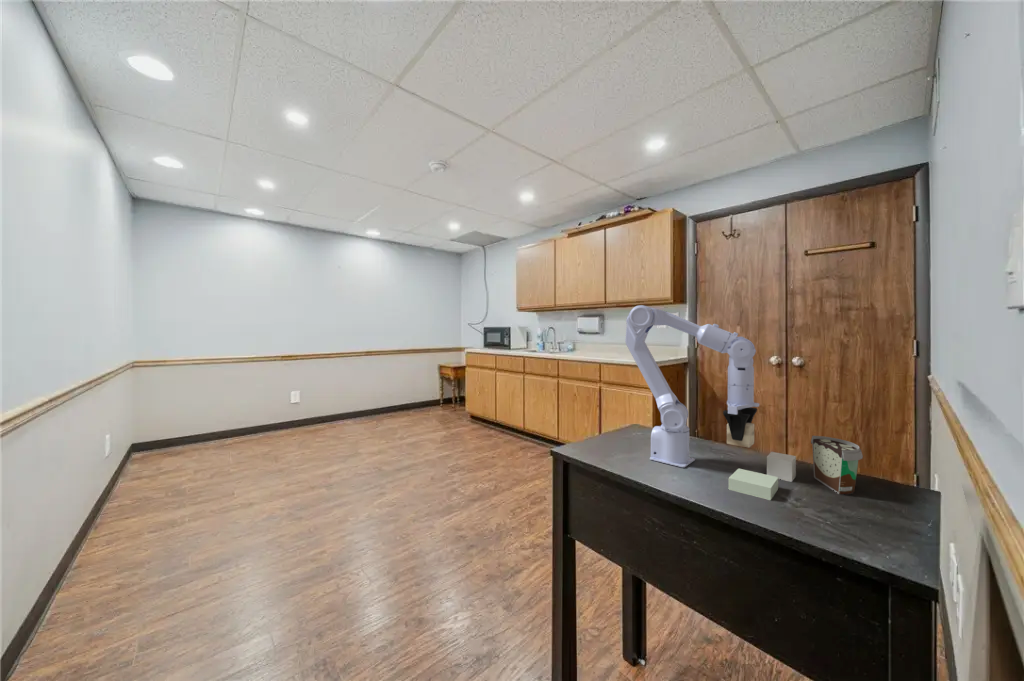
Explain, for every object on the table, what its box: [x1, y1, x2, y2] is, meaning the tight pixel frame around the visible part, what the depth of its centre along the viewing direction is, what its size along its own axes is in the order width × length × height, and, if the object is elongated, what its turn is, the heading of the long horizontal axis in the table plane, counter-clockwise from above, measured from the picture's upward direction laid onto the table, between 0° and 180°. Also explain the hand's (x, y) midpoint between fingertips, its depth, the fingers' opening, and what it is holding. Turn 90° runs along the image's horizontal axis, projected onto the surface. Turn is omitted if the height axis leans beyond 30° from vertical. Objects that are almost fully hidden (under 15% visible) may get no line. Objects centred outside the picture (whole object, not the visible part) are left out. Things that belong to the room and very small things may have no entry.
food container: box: [810, 435, 864, 495], centre depth 86 cm, size 12×6×10 cm, turn 168°
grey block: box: [766, 451, 797, 483], centre depth 93 cm, size 5×5×5 cm
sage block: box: [727, 468, 779, 501], centre depth 86 cm, size 8×8×3 cm
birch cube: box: [726, 423, 755, 448], centre depth 96 cm, size 5×5×5 cm
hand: (740, 437), depth 96 cm, fingers closed on birch cube, 5 cm apart
